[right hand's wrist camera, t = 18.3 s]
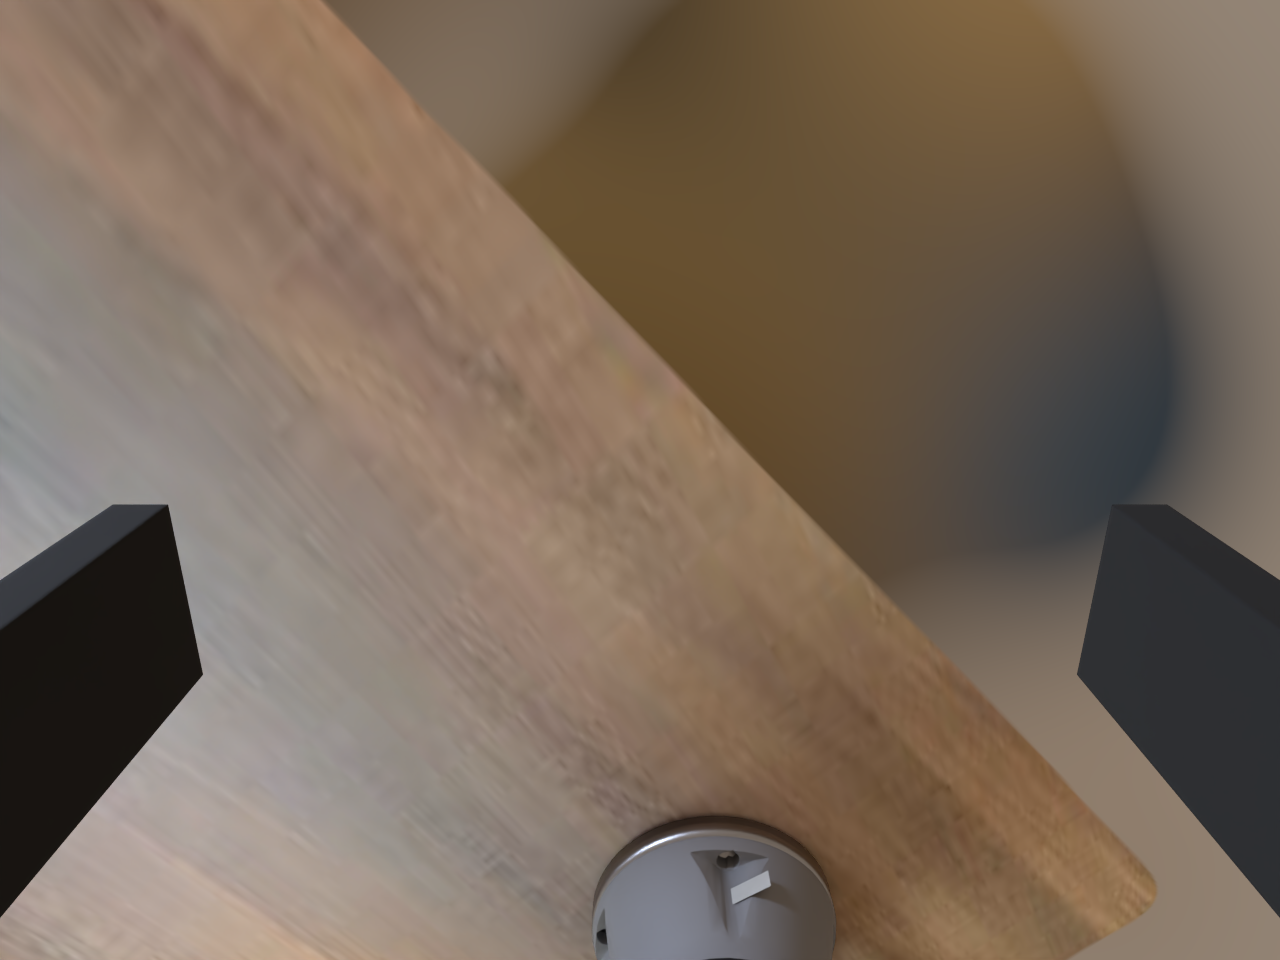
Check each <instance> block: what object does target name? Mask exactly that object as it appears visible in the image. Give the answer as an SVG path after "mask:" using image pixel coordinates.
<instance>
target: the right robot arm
mask: <svg viewBox="0 0 1280 960" xmlns="http://www.w3.org/2000/svg"><path fill="white" fill-rule="evenodd" d="M202 675H203V673H202V668H201V663H200V658H199V653H198V648H197V643H196V638H195V634H194V629H193V624H192V619H191V614H190V609H189V604H188V600H187V595H186V590H185V585H184V580H183V575H182V570H181V566H180V561H179V556H178V551H177V546H176V541H175V536H174V532H173V527H172V522H171V517H170V512H169V507H168V505H112V506H110V507H109V508H107V509H106V510H104V511H103V512H101V513H100V514H98V515H97V516H95V517H94V518H92V519H91V520H89V521H88V522H86V523H85V524H83V525H82V526H80V527H79V528H77V529H76V530H74V531H73V532H71V533H70V534H68V535H67V536H65V537H64V538H62V539H61V540H59V541H58V542H57V543H55V544H54V545H52V546H51V547H49V548H48V549H46V550H45V551H43V552H42V553H40V554H39V555H37V556H36V557H34V558H33V559H31V560H30V561H28V562H27V563H25V564H24V565H22V566H21V567H19V568H18V569H16V570H15V571H13V572H12V573H10V574H9V575H7V576H6V577H4V578H3V579H1V580H0V917H1V916H2V915H3V914H4V913H5V911H6V910H7V909H8V908H9V907H10V905H11V904H12V903H13V902H14V901H15V899H16V898H17V897H18V896H19V895H20V893H21V892H22V891H23V890H24V889H25V887H26V886H27V885H28V884H29V883H30V881H31V880H32V879H33V878H34V877H35V875H36V874H37V873H38V872H39V871H40V869H41V868H42V867H43V866H44V865H45V863H46V862H47V861H48V860H49V859H50V857H51V856H52V855H53V854H54V853H55V851H56V850H57V849H58V848H59V847H60V845H61V844H62V843H63V842H64V841H65V839H66V838H67V837H68V836H69V835H70V833H71V832H72V831H73V830H74V829H75V827H76V826H77V825H78V824H79V823H80V821H81V820H82V819H83V818H84V817H85V815H86V814H87V813H88V812H89V811H90V809H91V808H92V807H93V806H94V805H95V803H96V802H97V801H98V800H99V799H100V797H101V796H102V795H103V794H104V793H105V791H106V790H107V789H108V788H109V787H110V785H111V784H112V783H113V782H114V781H115V779H116V778H117V777H118V776H119V775H120V773H121V772H122V771H123V770H124V769H125V767H126V766H127V765H128V764H129V763H130V761H131V760H132V759H133V758H134V757H135V755H136V754H137V753H138V752H139V751H140V749H141V748H142V747H143V746H144V745H145V743H146V742H147V741H148V740H149V739H150V738H151V736H152V735H153V734H154V733H155V732H156V730H157V729H158V728H159V727H160V726H161V724H162V723H163V722H164V721H165V720H166V718H167V717H168V716H169V715H170V714H171V712H172V711H173V710H174V709H175V708H176V706H177V705H178V704H179V703H180V702H181V700H182V699H183V698H184V697H185V696H186V694H187V693H188V692H189V691H190V690H191V688H192V687H193V686H194V685H195V684H196V682H197V681H198V680H199V679H200V678H201V676H202ZM1077 675H1078V676H1079V678H1080V679H1081V680H1082V681H1083V682H1084V684H1085V685H1086V686H1087V687H1088V688H1089V690H1090V691H1091V692H1092V693H1093V694H1094V695H1095V697H1096V698H1097V699H1098V700H1099V702H1100V703H1101V704H1102V705H1103V706H1104V708H1105V709H1106V710H1107V711H1108V712H1109V714H1110V715H1111V716H1112V717H1113V718H1114V719H1115V721H1116V722H1117V723H1118V724H1119V726H1120V727H1121V728H1122V729H1123V730H1124V731H1125V733H1126V734H1127V735H1128V736H1129V738H1130V739H1131V740H1132V741H1133V742H1134V743H1135V745H1136V746H1137V747H1138V748H1139V749H1140V751H1141V752H1142V753H1143V754H1144V755H1145V757H1146V758H1147V759H1148V760H1149V761H1150V763H1151V764H1152V765H1153V766H1154V767H1155V769H1156V770H1157V771H1158V772H1159V773H1160V775H1161V776H1162V777H1163V778H1164V779H1165V781H1166V782H1167V783H1168V784H1169V785H1170V787H1171V788H1172V789H1173V790H1174V791H1175V793H1176V794H1177V795H1178V796H1179V797H1180V799H1181V800H1182V801H1183V802H1184V803H1185V805H1186V806H1187V807H1188V808H1189V809H1190V811H1191V812H1192V813H1193V814H1194V815H1195V817H1196V818H1197V819H1198V820H1199V821H1200V823H1201V824H1202V825H1203V826H1204V827H1205V829H1206V830H1207V831H1208V832H1209V833H1210V835H1211V836H1212V837H1213V838H1214V839H1215V841H1216V842H1217V843H1218V844H1219V845H1220V847H1221V848H1222V849H1223V850H1224V851H1225V853H1226V854H1227V855H1228V856H1229V857H1230V859H1231V860H1232V861H1233V862H1234V863H1235V865H1236V866H1237V867H1238V868H1239V869H1240V871H1241V872H1242V873H1243V874H1244V875H1245V877H1246V878H1247V879H1248V880H1249V881H1250V883H1251V884H1252V885H1253V886H1254V887H1255V889H1256V890H1257V891H1258V892H1259V893H1260V895H1261V896H1262V897H1263V898H1264V899H1265V901H1266V902H1267V903H1268V904H1269V905H1270V906H1271V908H1272V909H1273V910H1274V911H1275V913H1276V914H1277V915H1278V916H1279V917H1280V580H1279V579H1277V578H1276V577H1274V576H1273V575H1271V574H1270V573H1268V572H1267V571H1265V570H1264V569H1262V568H1261V567H1259V566H1258V565H1256V564H1255V563H1253V562H1252V561H1250V560H1249V559H1247V558H1246V557H1244V556H1243V555H1241V554H1240V553H1238V552H1237V551H1235V550H1234V549H1232V548H1231V547H1229V546H1228V545H1226V544H1225V543H1223V542H1222V541H1220V540H1219V539H1218V538H1216V537H1215V536H1213V535H1212V534H1210V533H1209V532H1207V531H1206V530H1204V529H1203V528H1201V527H1200V526H1198V525H1197V524H1195V523H1194V522H1192V521H1191V520H1189V519H1188V518H1186V517H1185V516H1183V515H1182V514H1180V513H1179V512H1177V511H1176V510H1174V509H1173V508H1171V507H1170V506H1168V505H1112V507H1111V512H1110V517H1109V522H1108V527H1107V532H1106V536H1105V541H1104V546H1103V551H1102V556H1101V561H1100V566H1099V570H1098V575H1097V580H1096V585H1095V590H1094V595H1093V600H1092V604H1091V609H1090V614H1089V619H1088V624H1087V629H1086V634H1085V638H1084V643H1083V648H1082V653H1081V658H1080V663H1079V668H1078V673H1077ZM835 938H836V916H835V910H834V906H833V902H832V898H831V894H830V890H829V886H828V883H827V880H826V878H825V875H824V873H823V871H822V869H821V867H820V866H819V864H818V863H817V861H816V860H815V859H814V858H813V856H812V855H811V854H810V853H809V852H808V851H807V850H806V849H805V848H804V847H803V846H802V845H801V844H799V843H798V842H797V841H795V840H794V839H793V838H791V837H789V836H788V835H786V834H784V833H783V832H781V831H779V830H777V829H775V828H772V827H770V826H767V825H764V824H762V823H758V822H755V821H751V820H746V819H741V818H734V817H723V816H709V817H697V818H689V819H684V820H679V821H676V822H672V823H669V824H666V825H663V826H660V827H658V828H655V829H653V830H651V831H649V832H647V833H645V834H643V835H642V836H640V837H638V838H637V839H635V840H634V841H632V842H631V843H630V844H628V845H627V846H626V847H625V848H623V849H622V850H621V851H620V852H619V853H618V854H617V855H616V856H615V857H614V858H613V860H612V861H611V862H610V863H609V865H608V866H607V868H606V869H605V871H604V872H603V874H602V876H601V878H600V880H599V883H598V885H597V888H596V892H595V896H594V902H593V917H592V939H593V945H594V949H595V954H596V957H597V960H832V953H833V949H834V945H835Z"/></svg>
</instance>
